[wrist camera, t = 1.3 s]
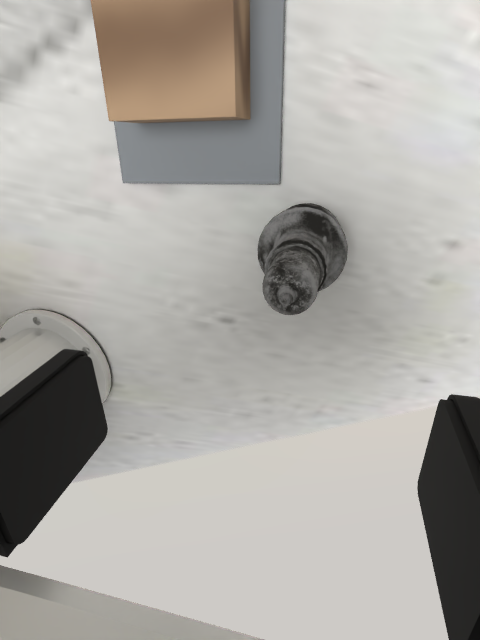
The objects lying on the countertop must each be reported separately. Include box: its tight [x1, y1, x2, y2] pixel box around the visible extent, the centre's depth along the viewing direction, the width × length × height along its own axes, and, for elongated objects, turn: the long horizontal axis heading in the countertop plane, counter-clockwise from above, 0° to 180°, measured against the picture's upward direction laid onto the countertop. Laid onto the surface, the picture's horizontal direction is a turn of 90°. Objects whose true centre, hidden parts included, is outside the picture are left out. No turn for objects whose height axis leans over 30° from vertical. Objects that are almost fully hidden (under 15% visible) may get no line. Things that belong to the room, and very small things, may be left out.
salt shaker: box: [258, 203, 347, 315], centre depth 22 cm, size 6×6×12 cm
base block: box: [91, 0, 250, 123], centre depth 22 cm, size 8×8×4 cm
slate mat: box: [114, 0, 285, 184], centre depth 24 cm, size 16×12×1 cm
